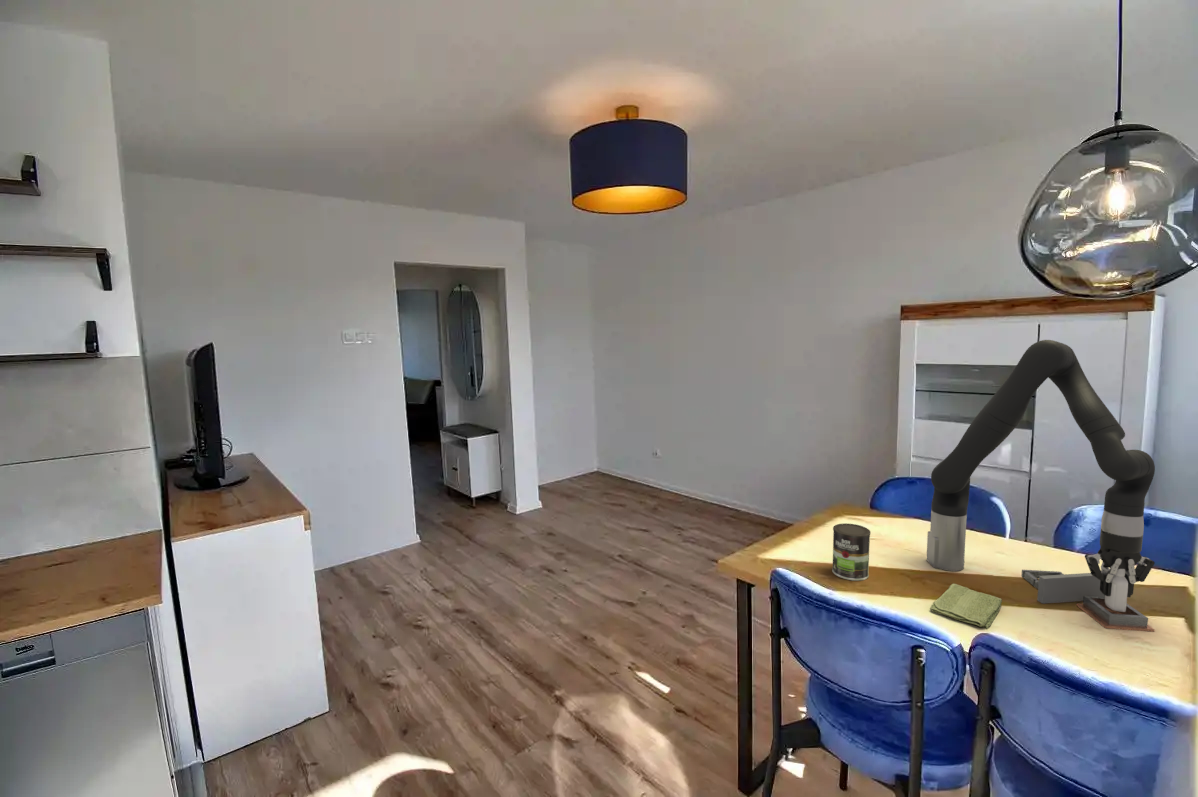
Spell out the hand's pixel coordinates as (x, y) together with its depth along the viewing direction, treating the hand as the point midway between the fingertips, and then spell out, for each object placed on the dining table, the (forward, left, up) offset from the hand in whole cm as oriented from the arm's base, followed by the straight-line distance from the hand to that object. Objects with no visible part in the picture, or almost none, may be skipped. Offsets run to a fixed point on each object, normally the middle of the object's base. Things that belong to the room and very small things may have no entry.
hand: (1115, 595), depth 135 cm
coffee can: (-58, +17, -6) cm, 61 cm away
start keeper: (-5, +18, -6) cm, 20 cm away
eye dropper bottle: (0, 0, -3) cm, 3 cm away
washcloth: (-33, -1, -7) cm, 34 cm away
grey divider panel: (-3, +9, -6) cm, 11 cm away
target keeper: (0, 0, -6) cm, 6 cm away
